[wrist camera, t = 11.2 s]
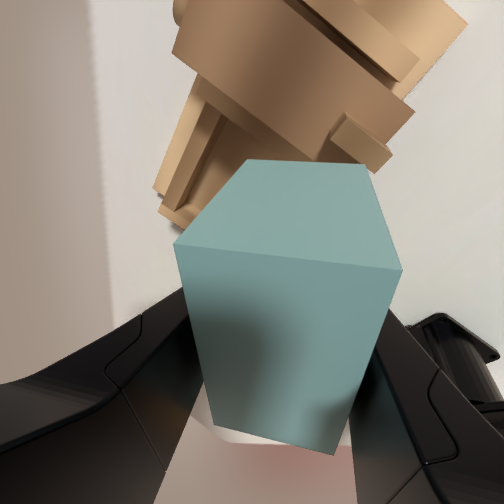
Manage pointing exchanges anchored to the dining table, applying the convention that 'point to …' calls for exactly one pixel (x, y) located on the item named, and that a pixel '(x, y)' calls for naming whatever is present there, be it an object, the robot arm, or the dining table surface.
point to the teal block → (288, 296)
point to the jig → (267, 140)
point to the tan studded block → (290, 78)
